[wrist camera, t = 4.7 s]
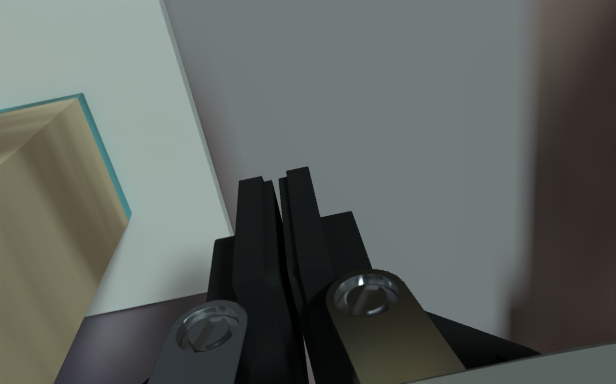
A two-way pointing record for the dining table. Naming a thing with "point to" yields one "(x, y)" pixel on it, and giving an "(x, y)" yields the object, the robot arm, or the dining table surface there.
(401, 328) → the robot arm
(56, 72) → the grey mat
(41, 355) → the oak block
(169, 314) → the dining table surface
